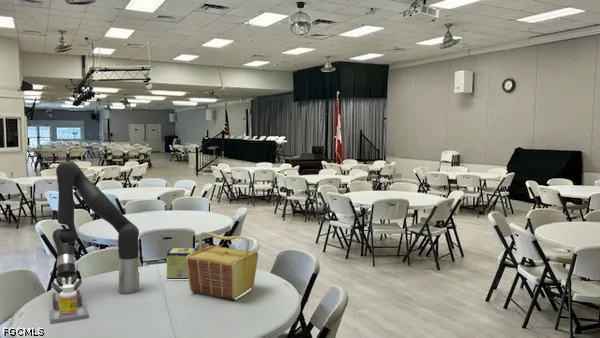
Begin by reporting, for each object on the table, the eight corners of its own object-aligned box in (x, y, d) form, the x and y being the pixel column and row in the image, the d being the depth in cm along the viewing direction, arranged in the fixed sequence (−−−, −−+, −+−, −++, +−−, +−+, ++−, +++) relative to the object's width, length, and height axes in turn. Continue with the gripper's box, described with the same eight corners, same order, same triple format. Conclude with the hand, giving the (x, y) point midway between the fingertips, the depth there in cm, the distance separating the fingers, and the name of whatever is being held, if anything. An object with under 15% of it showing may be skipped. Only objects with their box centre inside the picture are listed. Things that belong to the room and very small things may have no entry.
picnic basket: (183, 295, 227) (184, 235, 225) (211, 280, 251) (213, 226, 249) (234, 305, 217) (236, 242, 214) (259, 289, 240) (261, 232, 238)
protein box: (169, 274, 259) (169, 247, 258) (197, 275, 261) (198, 248, 260) (166, 280, 249) (166, 252, 248) (195, 280, 250) (195, 252, 249)
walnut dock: (79, 296, 220) (79, 289, 220) (81, 306, 209) (81, 298, 209) (52, 300, 215) (52, 293, 214) (53, 310, 203) (53, 302, 203)
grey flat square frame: (85, 307, 208) (85, 304, 208) (88, 317, 196) (88, 314, 196) (49, 312, 201) (49, 309, 200) (50, 323, 189) (50, 320, 189)
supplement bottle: (70, 318, 195) (70, 289, 194) (55, 317, 196) (55, 287, 195) (79, 312, 202) (79, 284, 201) (65, 311, 203) (65, 282, 202)
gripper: (49, 263, 206) (50, 299, 196) (82, 260, 212) (84, 295, 202) (49, 271, 211) (50, 307, 201) (81, 268, 217) (83, 302, 207)
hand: (67, 301), depth 202 cm, fingers closed
